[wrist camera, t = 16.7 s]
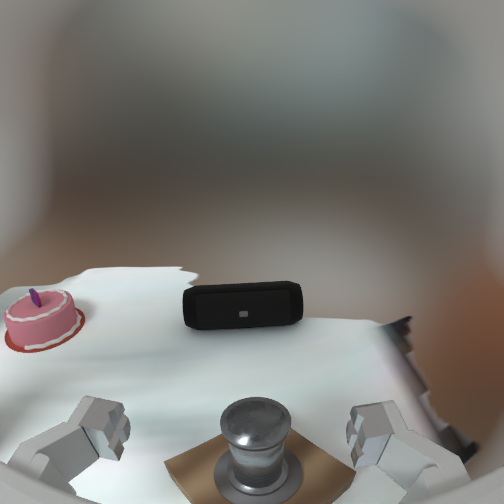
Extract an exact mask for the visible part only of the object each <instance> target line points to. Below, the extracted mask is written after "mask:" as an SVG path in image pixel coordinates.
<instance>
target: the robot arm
mask: <svg viewBox="0 0 504 504" xmlns="http://www.w3.org/2000/svg"><path fill="white" fill-rule="evenodd" d="M124 410H125V409H124V406H123V404H122V403H120V402H115V401H110V400H105V399H100V398H95V397H91V396H85V397H83V398H82V400H81V401H80V403H79V404H78V406H77V408H76V409H75V411H74V412H73V414H72V415H71V417H70V419H69V420H68V422H67V423H66V422H63V423H61V424H59V425H57V426H55V427H53V428H51V429H49V430H47V431H45V432H43V433H41V434H39V435H37V436H35V437H33V438H31V439H29V440H27V441H25V442H23V443H21V444H20V445H19V447H18V448H17V450H16V451H15V453H14V454H13V456H12V457H11V459H10V460H9V462H8V463H7V464H5V463H3V462H2V461H0V504H100V503H97V502H94V501H91V500H88V499H85V498H82V497H79V496H76V491H75V490H74V488H73V487H72V486H71V485H70V484H69V483H68V482H69V481H70V480H72V479H73V478H74V477H76V476H77V475H78V474H80V473H81V472H82V471H84V470H85V469H86V468H88V467H89V466H90V465H91V464H93V463H94V462H95V461H97V460H98V459H99V457H101V458H105V459H110V460H115V461H119V460H120V458H121V455H122V453H123V450H124V447H123V445H122V444H123V443H124V442H126V441H127V440H128V438H129V435H130V428H131V427H130V421H129V419H128V417H127V416H126V415H124V414H123V413H124ZM350 415H351V418H352V419H351V420H349V421H348V424H347V428H346V437H347V442H348V445H349V446H350V447H351V448H353V449H352V452H351V457H352V461H353V464H354V468H359V467H366V466H372V465H377V466H378V467H379V468H380V469H381V470H382V471H383V472H385V473H386V474H387V475H388V476H389V477H390V478H391V479H393V480H394V481H395V482H396V483H397V484H398V485H400V486H401V487H402V488H403V489H404V490H406V491H407V494H406V495H405V496H404V498H403V499H402V500H401V502H400V503H399V504H504V465H502V466H500V467H499V468H497V469H495V470H493V471H491V472H489V473H487V474H485V475H483V476H481V477H479V478H476V479H474V480H472V481H471V479H470V477H469V475H468V473H467V471H466V469H465V467H464V465H463V463H462V461H461V459H460V458H459V456H457V455H455V454H453V453H452V452H450V451H448V450H446V449H444V448H443V447H441V446H439V445H437V444H436V443H434V442H432V441H430V440H429V439H427V438H425V437H424V436H422V435H420V434H418V433H417V432H415V431H413V430H408V428H407V426H406V424H405V422H404V420H403V418H402V416H401V414H400V412H399V410H398V408H397V406H396V404H395V402H394V401H393V400H390V401H385V402H380V403H372V404H366V405H359V406H353V407H352V409H351V412H350Z"/></svg>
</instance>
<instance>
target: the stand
mask: <svg viewBox="0 0 504 504" xmlns="http://www.w3.org/2000/svg"><path fill="white" fill-rule="evenodd" d="M283 457H284V459H285V460H286V462H287V464H288V477H287V480H286V482H285V484H284V485H283V486H282V487H281V488H280V489H279V490H277V491H276V492H274V493H272V494H269V495H265V496H249V495H245V494H243V493H241V492H239V491H237V490H236V489H235V488H234V487H233V486H232V485H231V484H230V482H229V480H228V476H227V466H228V463H229V461H230V460H231V455H230V448H229V442H227V440H226V439H225V438H224V436H223V434H220V435H218V436H217V437H215V438H213V439H211V440H209V441H207V442H205V443H203V444H201V445H199V446H197V447H195V448H193V449H190V450H188V451H186V452H184V453H182V454H180V455H178V456H175V457H173V458H171V459H169V460H166V461H164V463H165V466H166V468H167V470H168V472H169V474H170V476H171V478H172V479H173V481H174V482H175V483H176V485H177V486H178V487H179V489H180V490H181V491H182V493H183V494H184V495H185V496H186V498H187V499H188V500H189V501H190V503H191V504H332V503H333V502H334V501H335V500H336V499H337V498H338V497H339V496H341V495H342V494H343V493H344V492H345V491H346V490H347V489H348V488H349V487H350V485H351V483H352V481H353V479H354V477H355V474H356V471H354V470H353V469H351V468H349V467H348V466H346V465H345V464H343V463H342V462H340V461H338V460H337V459H335V458H334V457H332V456H331V455H329V454H328V453H326V452H325V451H323V450H322V449H320V448H319V447H317V446H316V445H314V444H313V443H311V442H310V441H309V440H307V439H306V438H304V437H303V436H301V435H300V434H299V433H297V432H296V431H294V430H293V429H292V428H290V432H289V435H288V436H287V438H286V439H285V440H284V452H283Z"/></svg>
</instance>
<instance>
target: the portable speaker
mask: <svg viewBox="0 0 504 504" xmlns="http://www.w3.org/2000/svg"><path fill="white" fill-rule="evenodd" d="M183 316H184V321H185V324H186V326H188V327H191V328H194V329H197V330H203V329H228V328H247V327H263V326H277V325H289V324H293V323H295V322H297V321H299V320H301V319H302V317H303V296H302V290H301V287H300V285H299V284H297V283H293V282H290V281H275V282H259V283H241V284H221V285H200V286H193V287H191V288H189V289H186V290H184V293H183Z"/></svg>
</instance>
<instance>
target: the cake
mask: <svg viewBox="0 0 504 504" xmlns="http://www.w3.org/2000/svg"><path fill="white" fill-rule="evenodd" d="M29 292H30V293H27V294H25V295H23V296H21V297H19V298H17V299H16V300H15V301H14V302H12V303H10V305H9V306H8V307H7V309H6V310H5V312H4V321H5V324H6V327H7V331H6V334H5V342H6V344H7V346H8V347H9V348H10V349H12V350H14V351H17V352H23V353H33V352H40V351H44V350H48V349H51V348H54V347H56V346H59V345H61V344H63V343H65V342H66V341H68V340H69V339H71V338H72V337H74V336H75V335H76V334H77V333H78V332H79V331H80V330H81V328H82V327H83V325H84V322H85V316H84V314H83V312H82V311H81V310H79V309H77V308H75V305H74V302H73V298H72V296H71V294H70V293H68V292H67V291H64V290H59V289H43V290H36V291H35V290H34V289H33V288H32V289H29Z"/></svg>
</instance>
